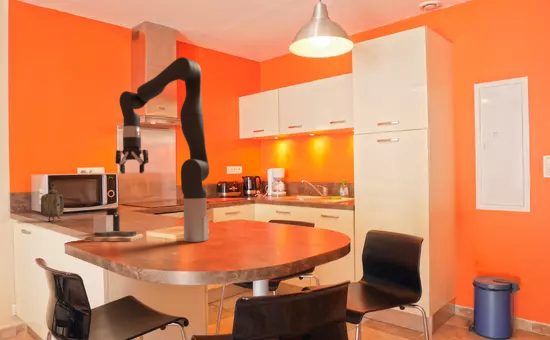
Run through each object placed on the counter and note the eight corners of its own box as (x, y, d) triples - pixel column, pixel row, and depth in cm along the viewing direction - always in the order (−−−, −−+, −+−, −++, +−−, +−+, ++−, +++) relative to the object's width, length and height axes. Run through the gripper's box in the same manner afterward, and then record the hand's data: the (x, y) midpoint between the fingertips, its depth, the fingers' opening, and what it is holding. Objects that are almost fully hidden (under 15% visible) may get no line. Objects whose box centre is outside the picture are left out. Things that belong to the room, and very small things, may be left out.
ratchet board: (142, 237, 171) (142, 219, 171) (130, 241, 160) (130, 222, 161) (99, 237, 173) (99, 219, 174) (84, 241, 163) (84, 222, 163)
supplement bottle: (122, 232, 188) (122, 207, 189) (113, 234, 182) (113, 208, 182) (110, 232, 190) (110, 207, 191) (100, 234, 184) (100, 208, 184)
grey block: (113, 230, 170) (113, 215, 170) (106, 232, 164) (106, 216, 165) (100, 230, 171) (100, 215, 171) (93, 232, 165) (93, 216, 165)
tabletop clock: (56, 222, 242) (56, 182, 243) (40, 223, 240) (40, 182, 241) (63, 220, 256) (63, 182, 257) (48, 220, 254) (48, 182, 255)
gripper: (150, 137, 179) (151, 173, 178) (120, 138, 180) (121, 173, 180) (143, 135, 171) (143, 173, 171) (112, 136, 173) (112, 173, 172)
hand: (132, 173), depth 175 cm, fingers open, 8 cm apart
